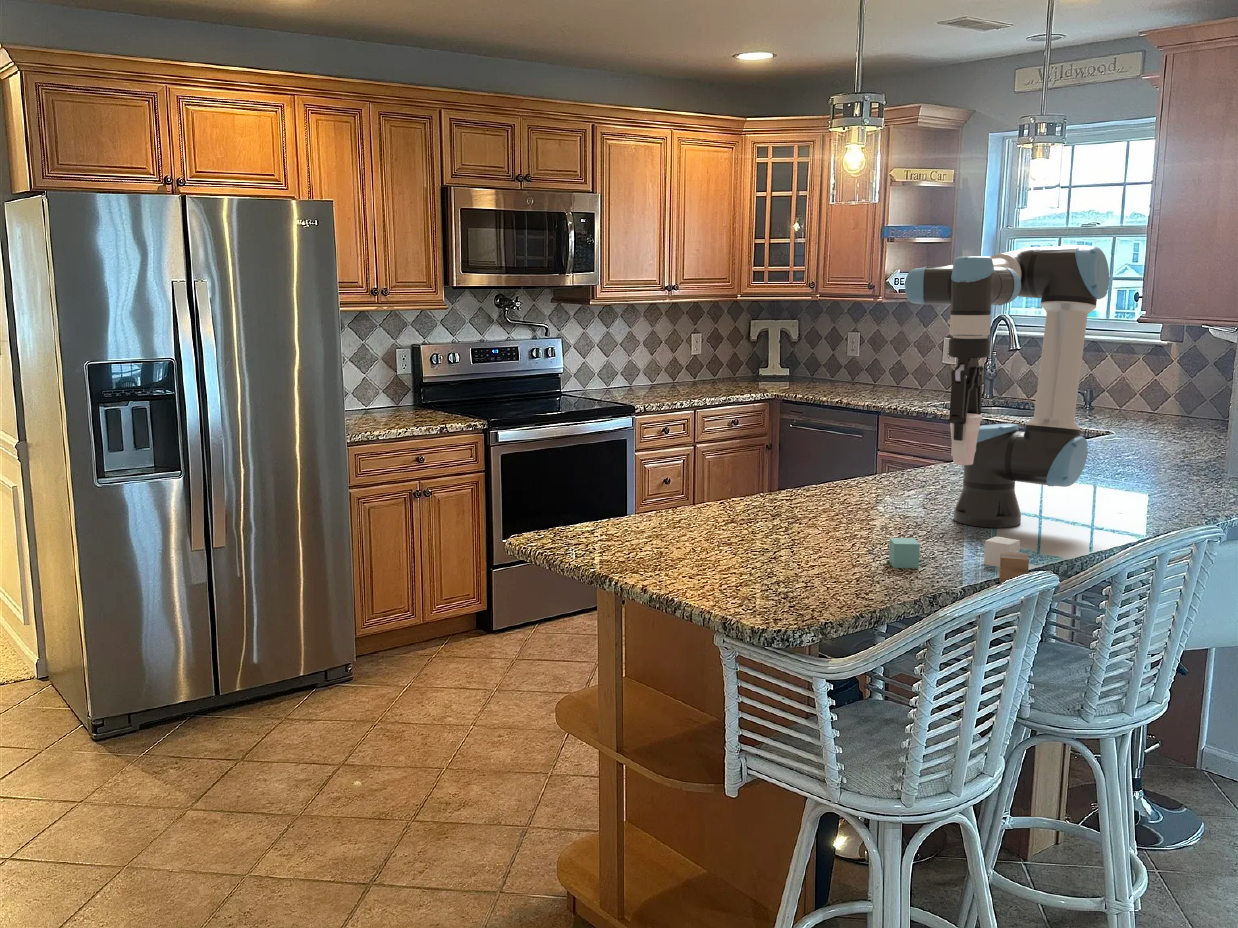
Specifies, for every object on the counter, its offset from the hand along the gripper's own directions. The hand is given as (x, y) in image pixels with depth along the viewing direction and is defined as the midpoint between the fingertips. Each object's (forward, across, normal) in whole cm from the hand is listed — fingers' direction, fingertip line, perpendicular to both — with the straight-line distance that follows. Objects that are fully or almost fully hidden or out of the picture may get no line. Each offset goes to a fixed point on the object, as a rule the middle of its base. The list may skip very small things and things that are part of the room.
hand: (963, 453), depth 213 cm
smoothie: (+2, 0, 0) cm, 2 cm away
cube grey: (+23, -6, +7) cm, 25 cm away
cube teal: (+23, +5, -10) cm, 25 cm away
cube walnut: (+23, +5, +12) cm, 26 cm away
